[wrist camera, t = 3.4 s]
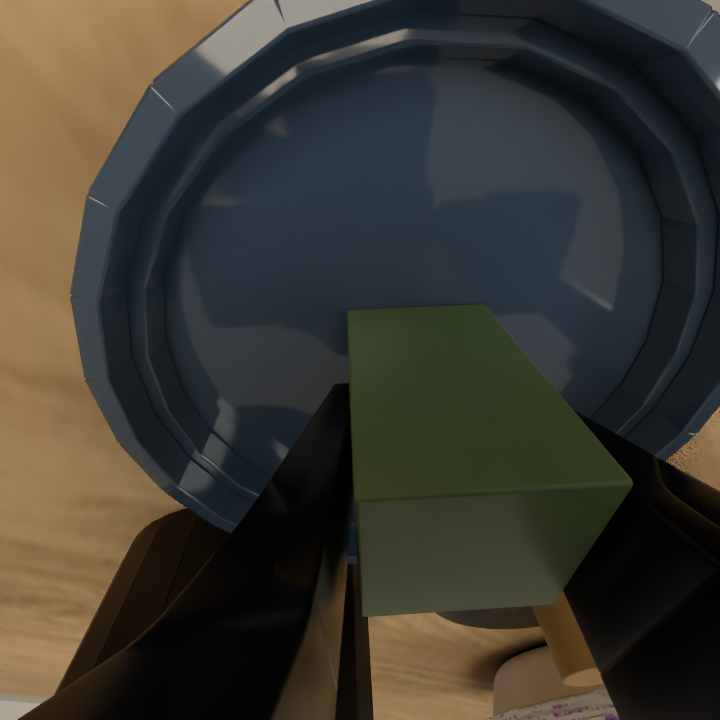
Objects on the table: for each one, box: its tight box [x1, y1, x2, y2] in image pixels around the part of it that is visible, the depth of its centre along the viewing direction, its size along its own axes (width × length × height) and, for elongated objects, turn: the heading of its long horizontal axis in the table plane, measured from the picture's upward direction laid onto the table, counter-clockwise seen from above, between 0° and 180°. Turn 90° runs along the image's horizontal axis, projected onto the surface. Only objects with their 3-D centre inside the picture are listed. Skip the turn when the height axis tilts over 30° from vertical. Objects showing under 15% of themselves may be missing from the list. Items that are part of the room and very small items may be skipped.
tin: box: [54, 509, 373, 720], centre depth 14 cm, size 11×11×7 cm
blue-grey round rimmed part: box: [70, 0, 720, 565], centre depth 9 cm, size 15×15×2 cm
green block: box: [347, 304, 633, 617], centre depth 8 cm, size 4×4×6 cm
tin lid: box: [435, 591, 603, 687], centre depth 16 cm, size 12×12×5 cm
